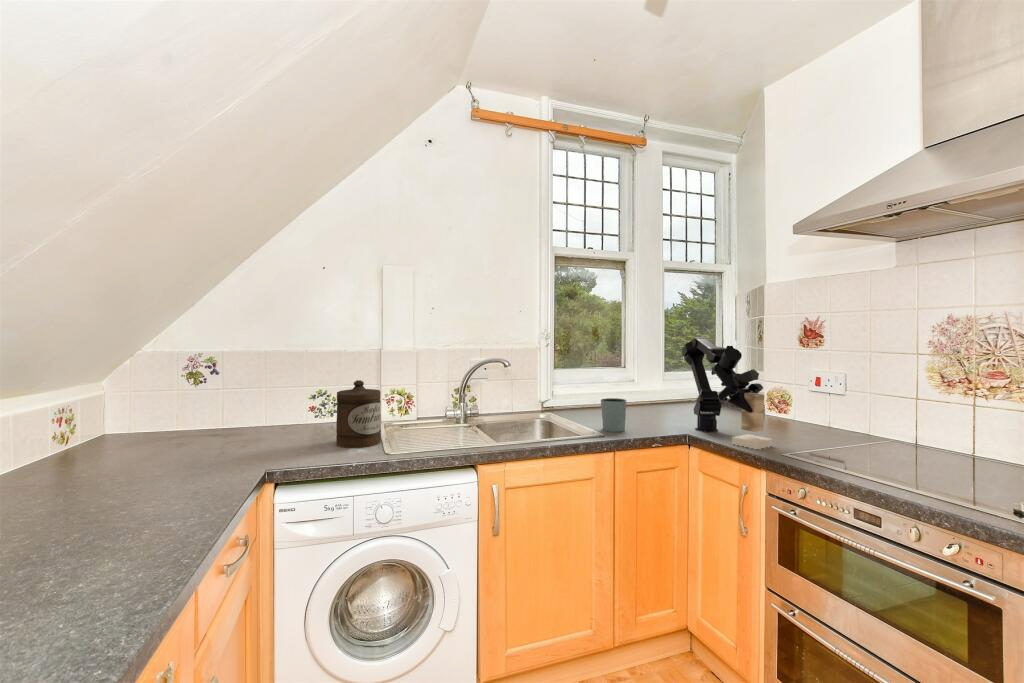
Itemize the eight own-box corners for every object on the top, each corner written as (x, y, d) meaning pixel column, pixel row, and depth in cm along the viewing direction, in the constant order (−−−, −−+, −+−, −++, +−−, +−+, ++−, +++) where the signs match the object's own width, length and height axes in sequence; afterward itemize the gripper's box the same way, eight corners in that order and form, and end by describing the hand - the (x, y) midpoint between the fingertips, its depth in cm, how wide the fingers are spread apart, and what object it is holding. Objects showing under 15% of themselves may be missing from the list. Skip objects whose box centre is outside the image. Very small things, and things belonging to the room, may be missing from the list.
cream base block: (732, 445, 167) (732, 437, 167) (747, 442, 171) (747, 434, 171) (757, 451, 159) (757, 442, 159) (772, 447, 164) (772, 439, 164)
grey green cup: (624, 433, 184) (625, 402, 184) (598, 431, 188) (598, 400, 187) (627, 428, 194) (627, 398, 194) (602, 426, 197) (602, 397, 197)
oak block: (741, 429, 166) (742, 393, 166) (749, 427, 169) (750, 392, 168) (754, 432, 162) (755, 395, 161) (763, 430, 164) (764, 394, 164)
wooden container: (355, 450, 157) (355, 383, 156) (327, 444, 165) (327, 380, 164) (389, 441, 169) (389, 379, 169) (362, 436, 177) (361, 377, 177)
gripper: (726, 362, 163) (756, 399, 154) (758, 361, 173) (788, 395, 164) (706, 383, 170) (733, 419, 161) (738, 380, 180) (766, 414, 171)
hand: (756, 411), depth 164 cm, fingers closed on oak block, 5 cm apart
